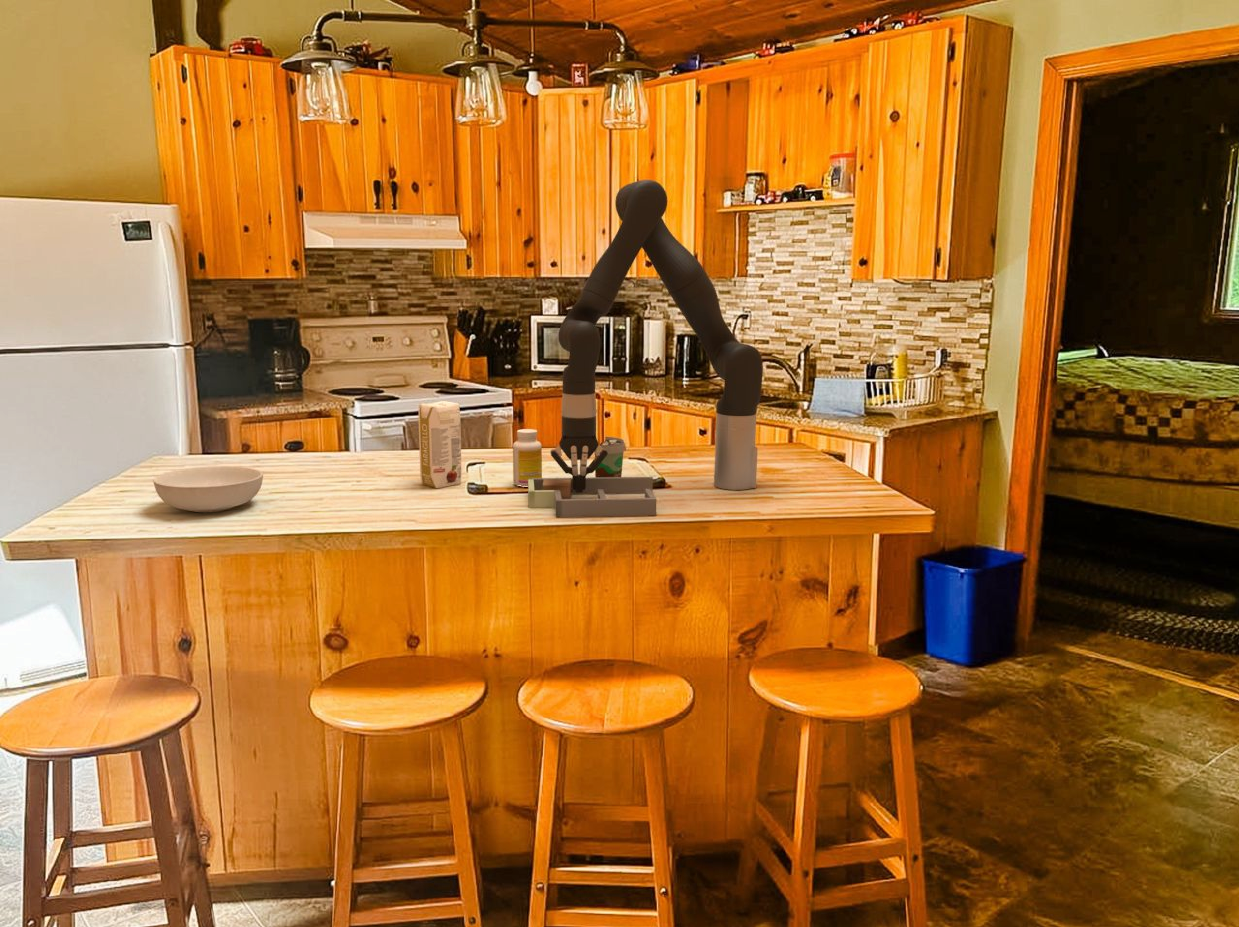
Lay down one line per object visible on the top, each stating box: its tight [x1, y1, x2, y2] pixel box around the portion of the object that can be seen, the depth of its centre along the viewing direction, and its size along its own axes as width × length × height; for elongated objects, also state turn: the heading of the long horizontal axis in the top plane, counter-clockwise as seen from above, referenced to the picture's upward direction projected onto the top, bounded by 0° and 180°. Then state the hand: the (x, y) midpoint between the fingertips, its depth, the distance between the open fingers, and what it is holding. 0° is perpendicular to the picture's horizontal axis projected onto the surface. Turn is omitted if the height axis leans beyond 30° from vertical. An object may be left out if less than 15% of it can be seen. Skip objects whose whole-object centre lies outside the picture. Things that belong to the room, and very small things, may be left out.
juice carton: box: [417, 400, 462, 489], centre depth 219 cm, size 8×9×19 cm
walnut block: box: [543, 479, 572, 499], centre depth 209 cm, size 6×6×4 cm
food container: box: [593, 436, 627, 477], centre depth 223 cm, size 12×6×10 cm, turn 168°
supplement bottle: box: [512, 428, 543, 486], centre depth 220 cm, size 7×7×13 cm
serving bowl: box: [153, 465, 264, 513], centre depth 198 cm, size 21×21×7 cm
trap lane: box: [527, 476, 658, 518], centre depth 204 cm, size 28×21×4 cm
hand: (578, 491), depth 208 cm, fingers closed
